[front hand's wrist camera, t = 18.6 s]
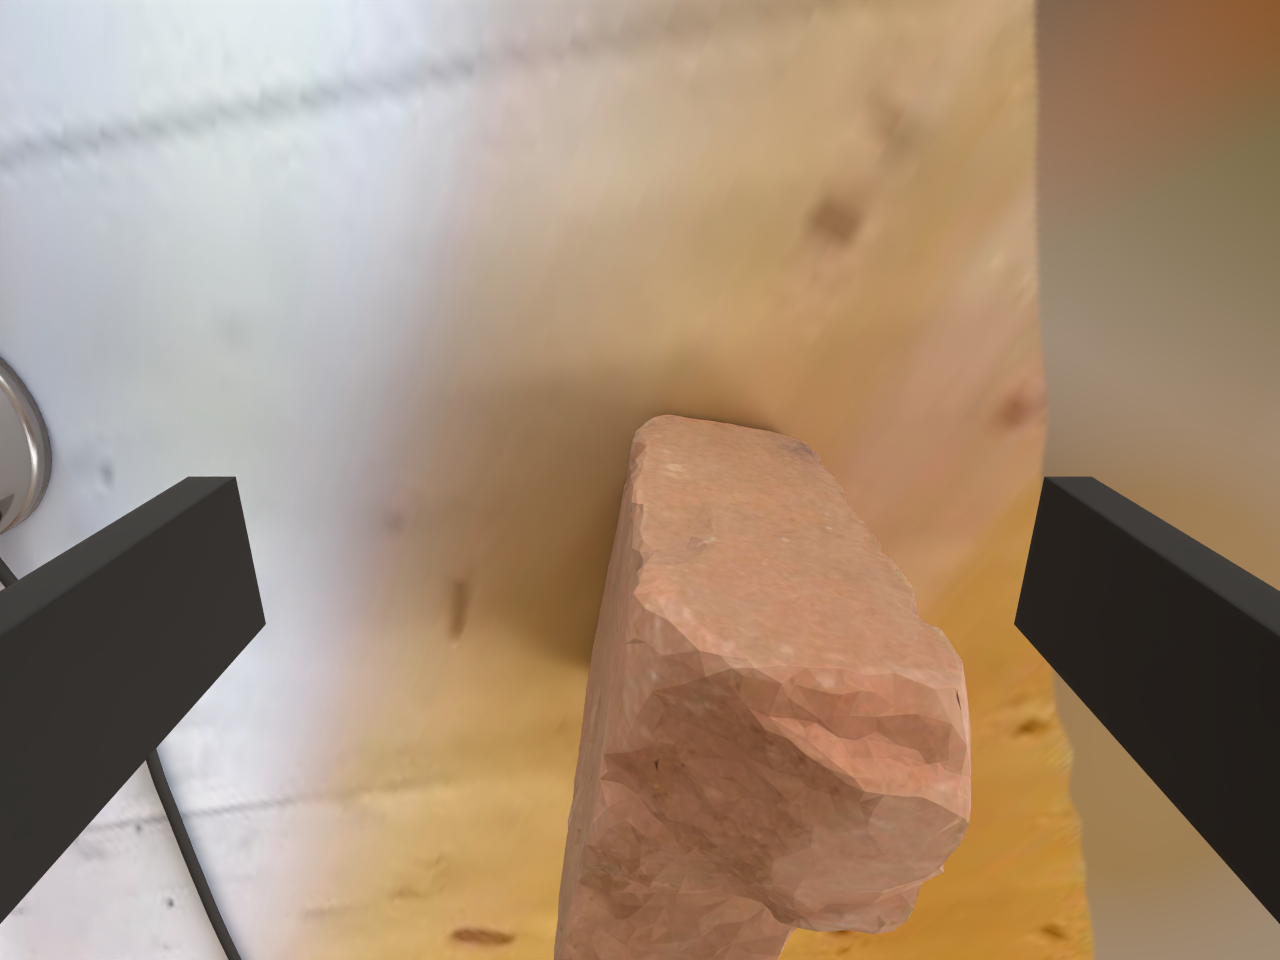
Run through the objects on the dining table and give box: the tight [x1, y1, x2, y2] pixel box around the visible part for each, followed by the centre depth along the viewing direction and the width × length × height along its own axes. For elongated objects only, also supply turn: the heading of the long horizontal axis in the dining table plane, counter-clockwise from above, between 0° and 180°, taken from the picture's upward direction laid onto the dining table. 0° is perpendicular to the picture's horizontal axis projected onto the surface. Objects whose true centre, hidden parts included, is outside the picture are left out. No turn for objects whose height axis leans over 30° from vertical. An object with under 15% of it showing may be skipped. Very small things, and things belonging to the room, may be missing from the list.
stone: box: [554, 414, 971, 960], centre depth 37 cm, size 22×11×28 cm, turn 170°
